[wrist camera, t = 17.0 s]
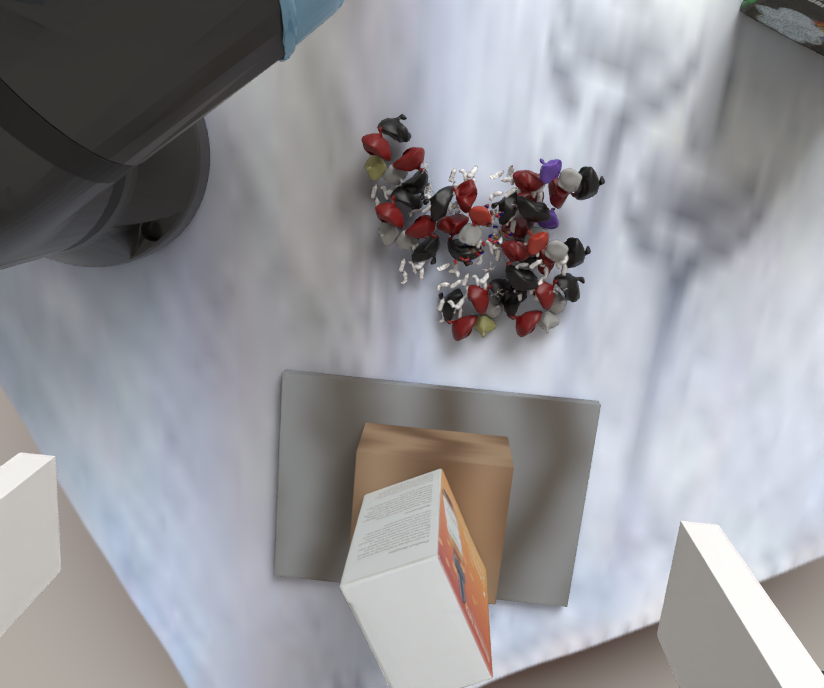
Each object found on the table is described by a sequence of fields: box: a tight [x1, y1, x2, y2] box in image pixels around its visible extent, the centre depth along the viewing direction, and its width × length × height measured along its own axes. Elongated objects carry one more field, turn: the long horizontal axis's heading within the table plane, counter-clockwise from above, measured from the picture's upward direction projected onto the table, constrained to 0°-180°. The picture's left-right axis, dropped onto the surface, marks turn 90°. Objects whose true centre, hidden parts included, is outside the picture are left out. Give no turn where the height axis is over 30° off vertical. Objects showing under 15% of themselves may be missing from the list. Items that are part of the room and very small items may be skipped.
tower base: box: [274, 370, 601, 607], centre depth 50 cm, size 22×16×6 cm
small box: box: [339, 469, 493, 688], centre depth 42 cm, size 8×6×10 cm
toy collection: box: [362, 114, 605, 341], centre depth 46 cm, size 15×14×5 cm
